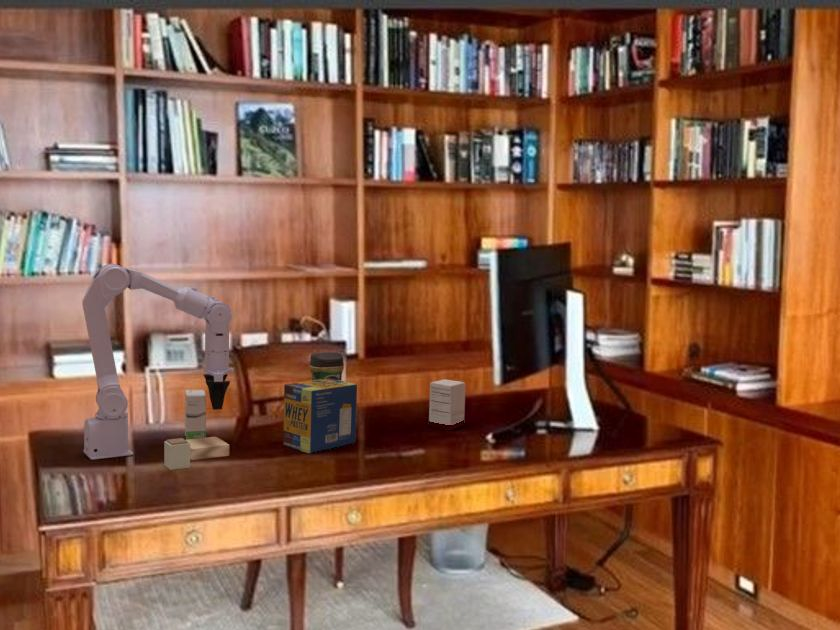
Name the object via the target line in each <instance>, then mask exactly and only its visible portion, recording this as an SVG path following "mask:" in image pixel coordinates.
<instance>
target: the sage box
mask: <svg viewBox="0 0 840 630" xmlns="http://www.w3.org/2000/svg"><path fill="white" fill-rule="evenodd" d="M163 443H164V445H163V446H164V447H163V449H164V452H163V453H164V454H163V455H164V458H163V460H164V461H163V463H164V464H163V466H164V467H166V468H167V469H168V470H170V471H173V470H182V469H190V468H191V459H190V443H189V442H188V441H186V438H185V439H184V438H183V437H181V438H180V437H179V438H171V439H170V438H169V439H166V440H165V441H164V442H163Z"/></svg>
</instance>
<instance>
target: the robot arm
mask: <svg viewBox="0 0 840 630" xmlns="http://www.w3.org/2000/svg"><path fill="white" fill-rule="evenodd" d="M91 278H92V279H91V281H90V283H89V286H88V288H87V290H86V292H85V293H84V296H83V298H82V301H81V302H82V303H81V304H82V308H83V309H82V310H83V314H84V320H85V325H86V329H87V330H86V331H87V335H88V340H89V346H90V350H91V351H90V352H91V356H92V360H93V366H94V371H95V377H96V384H97V392H96V395H95V402H96V404H97V406H98V410H97V411H96V412H95V414H94V416H93V417H90V418H89V417H88V418H85V420H84V425H83V447H84V448H83V453H84V454H85V455H86V456H87V457H88V458H89V459H90V460H100V459H101V460H102V459H109V458H119V457H127V456H133V455H134V452H133V451H132V450H130V448H129V413H128V412H127V409H128V406H129V405H128V398H127V397H126V395H125V393H124V391H123V390H122V388H121V385H120V381H119V380H120V379H119V377H118V373H117V367H116V361H115V356H114V350H113V345H112V340H111V336H110V335H111V334H110V330H109V324H108V320H107V314H106V307H107V306H109V304H110V303H111V301H112V300H113V299H114V297H116V296H118V295H120V294H121V293H123V292H124V291H126V289H127V288H128V289H129V290H131V291H133V290H140V289H141V290H145V291H148V292H150V293H152V294H155V295H156V296H157V295H158V296H160V297H162V298H164V299H167V300H170V301H173V304H174V306H175V309H176V310H179V311H181V312H183V313H186V314H188V315H191V316H193V317H195V318H198V319H200V320H203V319H204V320H205V332H204V368H203V373H204V374H203V377H204V379H205V384H206V386H207V388H208V393H209V400H210V403H211V408H212V410H213V411H214V410H223V406H224V401H225V397H226V393H227V390H228V387H229V386H230V383H231V380H227V377H228V374H229V373H233V372H234V371H235V370H234V368H233V367H230V322H231V321H232V319H233V313H232V311H231V308H230V307H229V305H228V304H226V303H225V302H222V301H220V300H219V299H216V297H215V296H213V295H210V296H208V295H206V294H204V293H203V292H199V291H197V290H198V288H196V287H194V286H191V287H188V286H184V287H181V288H177V287H175V286H173V285H170V284H168V283H166V282H164V281H162V280H159V279H157V278H155V277H154V276H151V275H149V274H146V273H144V272H143V271H140V270H136V269H132V268H129V267H125V266H124V267H122V266H121V265H119V264H116V263H107V264H104V265H102V266H101V267H100V268H99V269H98V270H97V271H96V272H95V273H94V274H93V276H92V277H91Z"/></svg>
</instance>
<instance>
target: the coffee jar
mask: <svg viewBox="0 0 840 630" xmlns="http://www.w3.org/2000/svg"><path fill="white" fill-rule="evenodd" d="M309 359H310V360H309V370H310V373H311V381H313V380H320V379H326V378H332V379H337V380H341V381H342V374H343V372H344V368H345V363H344V356H343V354H342V353H340V352H333V351H332V352H318V353H317V352H315V353H311V355H310V358H309Z"/></svg>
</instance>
